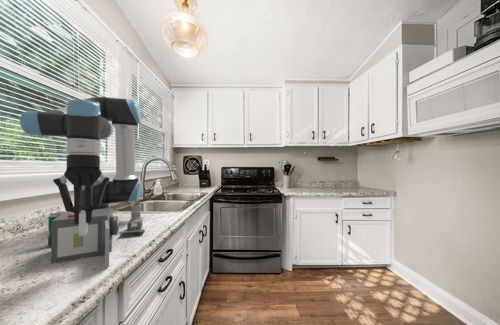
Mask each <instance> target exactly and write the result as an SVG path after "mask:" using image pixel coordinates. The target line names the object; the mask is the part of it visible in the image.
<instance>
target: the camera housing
mask: <svg viewBox="0 0 500 325" xmlns="http://www.w3.org/2000/svg"><path fill="white" fill-rule="evenodd" d="M82 211H85V210H82ZM65 212H66V213H64V214H62V215H61V216H59V217H57V218H56V219H54V220H52V231H51V246H50V264H54V263H55V264H56V263H61V262H65V261H66V262H68V261H73V260H79V259H83V258H90V257H95V256H96V257H97V256H100V255H101V256H103V255H102V227H103V221H104V220H108V222H109V228H110V234H109V240H111V241H112V242H113V236H117V235H118V232H119V231H120V219H119V217H118V215H115V216H114V215H113V214H114V208H113V207H109V208H107V209H95V210H93V211H92V221H91V222H90V223H88V232H87V234H86V235H83V236H79V224H75V223H74V213H73V212H67V211H65Z"/></svg>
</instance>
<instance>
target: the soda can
mask: <svg viewBox="0 0 500 325" xmlns="http://www.w3.org/2000/svg"><path fill="white" fill-rule="evenodd" d="M66 212H67V211H56V212H50V213H49V215H48V220H47V222H48V223H47V246H48V247H51V231H52V220H54V219H56V218H57V217H59V216H61V215H62V214H64V213H66Z"/></svg>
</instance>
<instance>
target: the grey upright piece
mask: <svg viewBox="0 0 500 325" xmlns="http://www.w3.org/2000/svg"><path fill="white" fill-rule="evenodd" d="M141 209H142V203H132V204H130V211H131V213H130V214H131V216H130V217H131V218H130V219H129V221H128V222H127V227H126V228H127V230H124V231H120V232H119V234H120V235H121V234H128V233H129V234H130V233H140V232H145V231H146V229H143V217H142V216H141Z"/></svg>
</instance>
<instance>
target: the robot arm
mask: <svg viewBox="0 0 500 325" xmlns="http://www.w3.org/2000/svg"><path fill="white" fill-rule="evenodd" d="M141 114H142V113H141V108H140V105H139V103H138V102H137V101H136V100H133V99H128V98H118V97H109V96H108V97H106V96H95V97H89V98H84V99H71V100H69V101H68V102H67V106H63V107H59V108H55V109H52V110H48V111H38V110H35V111H34V110H33V111H31V110H30V111H29V110H27V111H24V112H23V113H22V114H21V115H20V118H19V124H20V127H21V129H22V131H23V132H24V133H25V134H27V135H29V136H30V135H31V136H40V137H60V138H61V137H66V153H69V154H67V155H66V169H65V171H64V173H63V175H61V176H60V177H57V178H54V179H53V180H52V182H53V183H54V184H55V185H56V187H57V188H58V190H59V193H60V197H61V200H62V202H63V205H64V210H65V212H73V213H74V223H75V224H79V236H83V235H86V234H87V232H88V223H90V222H91V221H92V211H93V210H95V209H107V208H110V206H109V205H110V204H124V203H128V204H129V203H135V202H137V201H139V199H140V197H141V192H142V188H143V187H142V186H143V181H142V180H141V179H139V176H138V175H137V174H136V141H135V140H136V139H135V138H136V136H135V135H136V131H135V130H136V129H137V128H138V126H139V124H141V123H142V115H141ZM113 128H114V129H115V130H114V129H113ZM114 132H115V134H114V135H115V136H114V138H115V175H114V176H113V177H112V180H111V177H110V176H106V175H104V174H103V172H102V171H101V167H100V166H101V156H100V155H98V154H100V153H101V140H106V139H108V138H110V137H111V136H112V134H113V133H114ZM67 181H69V182H70V184H71V185H73V200H72V197H71V195H70V191H69V187H68V185H67V183H68V182H67ZM82 210H85V211H82Z"/></svg>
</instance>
